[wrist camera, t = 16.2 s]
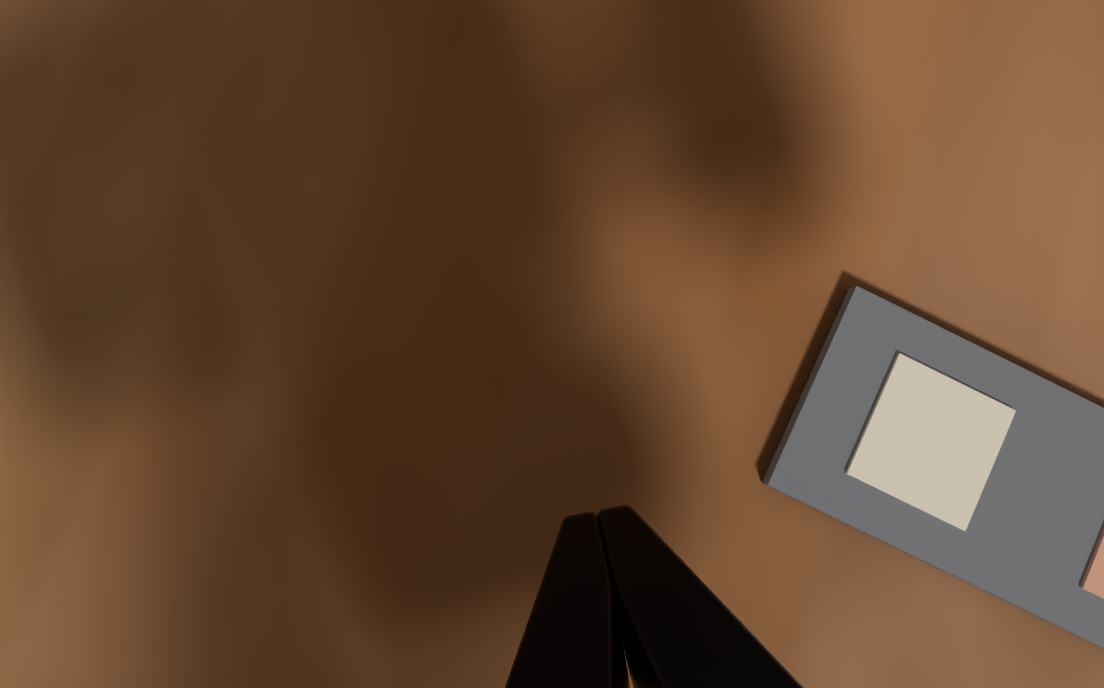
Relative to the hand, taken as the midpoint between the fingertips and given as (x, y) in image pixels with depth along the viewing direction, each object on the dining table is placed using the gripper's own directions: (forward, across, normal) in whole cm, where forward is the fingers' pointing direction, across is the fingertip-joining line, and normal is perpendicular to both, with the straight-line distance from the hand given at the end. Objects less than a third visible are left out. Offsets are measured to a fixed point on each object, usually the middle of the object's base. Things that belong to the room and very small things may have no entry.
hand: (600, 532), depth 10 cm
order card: (+5, +10, -8) cm, 14 cm away
